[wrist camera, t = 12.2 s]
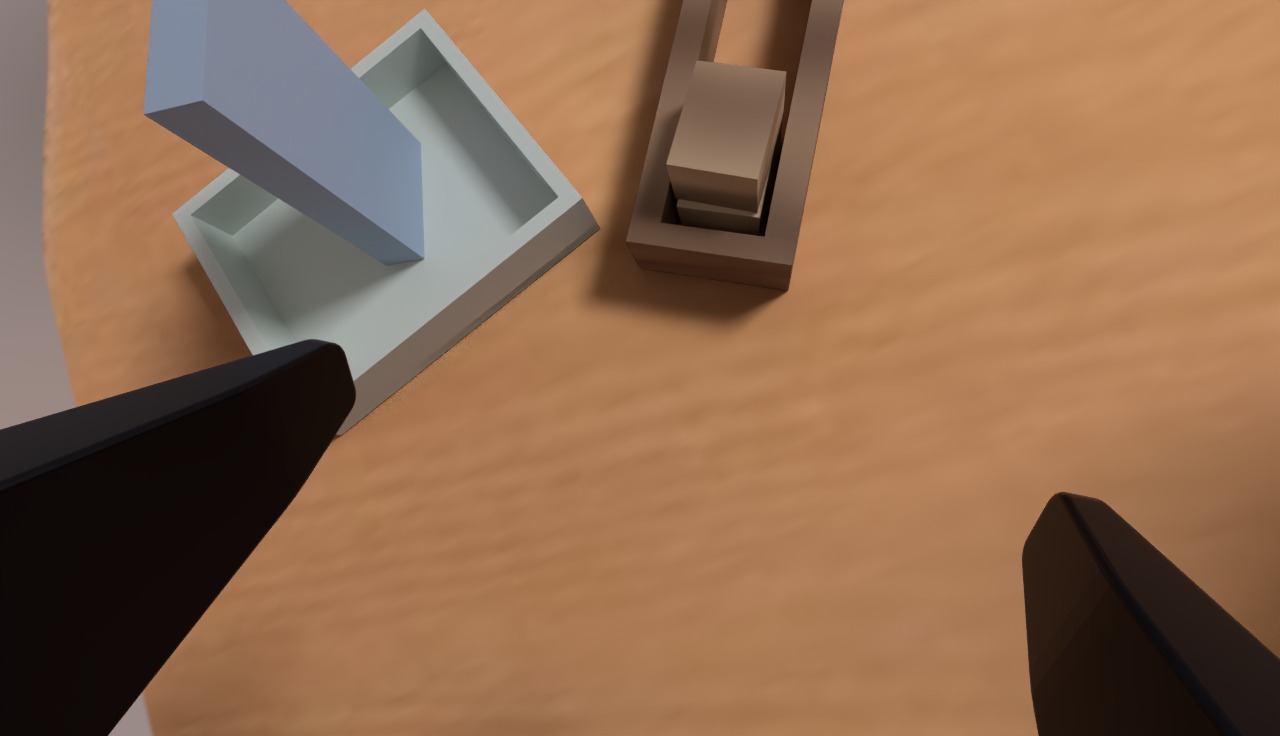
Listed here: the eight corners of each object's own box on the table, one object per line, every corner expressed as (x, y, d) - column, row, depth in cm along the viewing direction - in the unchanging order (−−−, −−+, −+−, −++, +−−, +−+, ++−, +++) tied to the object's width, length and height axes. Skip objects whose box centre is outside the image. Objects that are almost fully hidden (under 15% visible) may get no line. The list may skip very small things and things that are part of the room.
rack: (787, 290, 22) (791, 265, 19) (639, 268, 23) (625, 241, 20) (856, -67, 24) (867, -130, 22) (718, -71, 25) (714, -131, 23)
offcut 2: (759, 244, 22) (759, 217, 20) (683, 233, 23) (676, 206, 21) (780, 143, 23) (783, 107, 21) (706, 135, 24) (701, 99, 22)
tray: (341, 435, 24) (294, 428, 21) (225, 239, 27) (171, 213, 24) (600, 228, 24) (582, 197, 21) (455, 53, 26) (425, 8, 24)
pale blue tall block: (424, 259, 24) (203, 100, 14) (386, 265, 24) (143, 114, 15) (420, 143, 25) (212, -77, 16) (384, 151, 25) (157, -60, 16)
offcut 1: (757, 212, 20) (757, 179, 18) (675, 198, 21) (666, 164, 19) (783, 115, 21) (786, 71, 19) (702, 103, 22) (696, 60, 19)
